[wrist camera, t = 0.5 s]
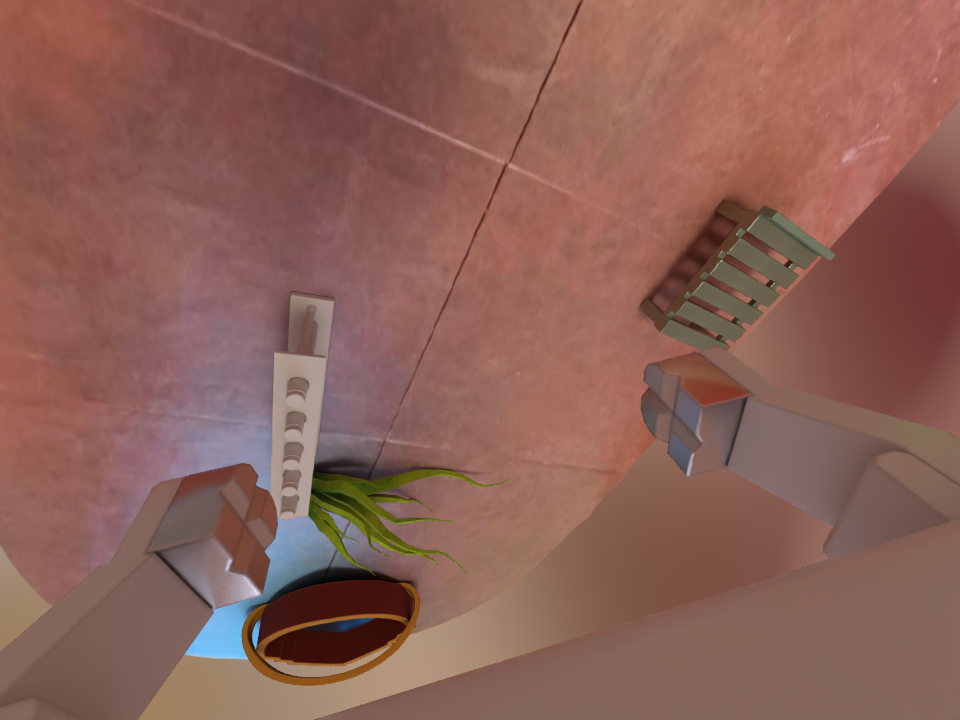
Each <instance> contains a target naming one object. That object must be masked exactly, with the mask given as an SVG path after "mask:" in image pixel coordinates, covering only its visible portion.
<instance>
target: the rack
mask: <svg viewBox="0 0 960 720" xmlns="http://www.w3.org/2000/svg"><path fill="white" fill-rule="evenodd" d="M716 212H717V213H719V214H720V215H722V216H724V217H726V218H728V219H729V220H731V221H733V222H735V223H737V224H738V225H737V226H736V227H735V228H734V230H733V231H732V232H731V233H730V234H729V236H728V237H727V238H726V239H725V240H724V242H723V243H722V244H721V245H720V246H719V248H718V249H717V250H716V251H715V252H714V254H713V255H712V256H711V257H710V258H709V260H708V261H707V262H706V263H705V264H704V266H703V267H702V268H701V269H700V270H699V272H698V273H697V274H696V275H695V276H694V278H693V279H692V280H691V281H690V282H689V284H688V285H687V286H686V287H685V288H684V290H683V291H682V292H681V293H680V294H679V296H678V297H677V298H676V299H675V300H674V302H673V303H672V304H671V305H670V306H669V308H668V309H667V310H666V311H665V312H664V311H663V310H661V309H660V308H659V307H658V306H657V305H656V304H655V303H654V302H653V301H651V300H649V299H647V298H646V299H645V300H644V301H643V303H642V304H641V305H640V308H641V309H642V310H643V311H644V312H645V313H646V314H647V315H648V316H649V317H650V318H651V319H652V320H653V321H654V322H655V324H654V326H655V327H656V329H657V330H658V331H659V332H661V333H663V334H665V335H668V336H670V337H672V338H675V339H677V340H679V341H682V342H684V343H686V344H689V345H691V346H693V347H696V348H698V349H700V350H703V349H707V348H711V347H714V346H716V347H720V348H723V349H725V350H726V351H727V350H728V349H729V348H730V346H729V345H728V344H727V343H726V342H725V341H726V340H727V339H730V340H732V341H734V342H735V341H736V340H737V339H738V338H739V337H740V336H741V335H742V334H743V333H744V332H745V331H746V329H744V328H743V327H742V326H740V325H741V324H742V323H743V322H746V323H748V324H750V325H752V324H753V323H754V322H755V321H756V320H757V319H758V318H759V317H760V316H761V315H762V314H763V312H761V311H760V310H759V309H757V308H758V306H759V305H760V304H762V305H764V306H766V307H769V306H770V305H771V304H772V303H773V302H774V301H775V300H776V299H777V298H778V297H779V296H780V294H779V293H777V292H776V291H774V290H775V289H776V288H777V287H778V286H779V285H780V286H781V287H783V288H785V289H787V288H788V287H789V286H790V285H791V284H792V283H793V282H794V281H795V280H796V279H797V278H798V277H799V275H798V274H796V273H795V272H793V270H794V269H795V268H796V267H797V266H799V267H800V268H802V269H804V270H806V269H807V267H808V266H809V265H810V264H811V263H812V262H813V261H814V260H815V259H816V258H817V257H818V256H821V257H823V258H825V259H827V260H829V261H830V260H831V259H832V258H833V257H834V256H835V254H834V253H832V252H831V251H830V250H829V249H827V248H826V247H825V246H823V245H822V244H821V243H819V242H818V241H816V240H815V239H814V238H812V237H811V236H810V235H808V234H807V233H806V232H804V231H803V230H802V229H800V228H799V227H798V226H796V225H795V224H794V223H792V222H791V221H790V220H788V219H787V218H786V217H784V216H783V215H782V214H780V213H779V212H778V211H775V210H773V209H771V208H769V207H766V206H763V207H762V208H761V209H760V211H759V212H756V211H753V210H751V209H750V210H749V212H748V211H746V210H744V209H741V208H739V207H737V206H735V205H733V204H731V203H729V202H727V201H725V200H724V201H723V202H722V203H721V204H720V206H719V207H718V208H717V209H716ZM746 232H748V233H749V234H751V235H752V236H754V237H755V238H757V239H758V240H760V241H761V242H763V243H764V244H765V245H767V246H768V247H770V248H772V249H773V250H775V251H776V252H778V253H779V254H781V255H782V256H784V257H785V258H787V259H788V261H787V263H786V264H785V265H782V264H781V263H779V262H778V261H776V260H775V259H773V258H772V257H770V256H769V255H767V254H766V253H764V252H763V251H761V250H759V249H758V248H756V247H755V246H753V245H752V244H750V243H749V242H747V241H746V240H744V239H743V238H741V237H742V236H743V235H744V234H745V233H746ZM727 254H729V255H731V256H732V257H734V258H736V259H737V260H739V261H741V262H742V263H744V264H745V265H747V266H749V267H750V268H752V269H754V270H755V271H757V272H759V273H760V274H762V275H763V276H765V277H767V278H768V279H770V281H769V282H768V283H767V284H766V285H764V284H763V283H761V282H759V281H757V280H756V279H754V278H752V277H751V276H749V275H747V274H746V273H744V272H742V271H741V270H739V269H737V268H736V267H734V266H732V265H731V264H729V263H727V262H726V261H724V260H723V258H724V257H725V256H726V255H727ZM709 275H710V276H712V277H714V278H716V279H718V280H719V281H721V282H723V283H725V284H727V285H728V286H730V287H732V288H734V289H736V290H737V291H739V292H741V293H743V294H745V295H746V296H748V297H750V298H752V300H751V301H750V302H749V303H746V302H744V301H742V300H740V299H739V298H737V297H735V296H733V295H731V294H729V293H727V292H726V291H724V290H722V289H720V288H718V287H716V286H715V285H713V284H711V283H709V282H707V281H705V280H706V278H707V277H708V276H709ZM692 295H693V296H695V297H697V298H699V299H701V300H703V301H705V302H707V303H709V304H711V305H713V306H715V307H716V308H718V309H720V310H722V311H724V312H726V313H728V314H730V315H732V316H734V317H735V318H734V319H733V320H732V321H730V320H728V319H726V318H724V317H722V316H720V315H718V314H716V313H714V312H712V311H710V310H708V309H706V308H704V307H702V306H700V305H698V304H696V303H694V302H692V301H690V300H689V298H690V297H691V296H692ZM675 315H678V316H681V317H683V318H685V319H687V320H689V321H691V322H693V323H692V324H691V325H690V326H689V325H686V324H684V323H682V322H680V321H678V320H675V319H673V317H674V316H675ZM707 329H709V330H711V331H713V332H715V333H717V334H719V335H718V336H717V337H715V336H714V335H713V334H711V333H710V332H709V331H708V330H707Z"/></svg>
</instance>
